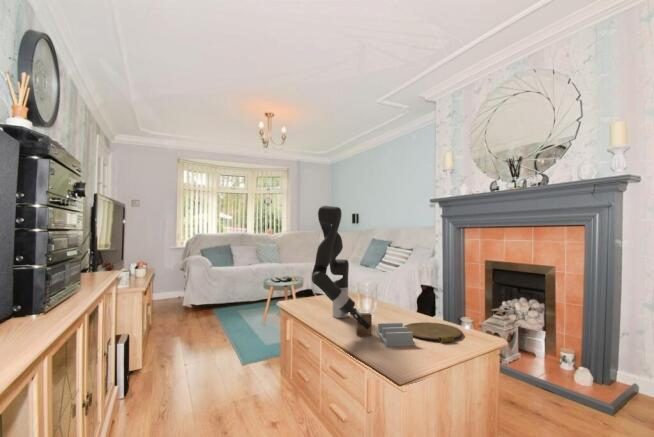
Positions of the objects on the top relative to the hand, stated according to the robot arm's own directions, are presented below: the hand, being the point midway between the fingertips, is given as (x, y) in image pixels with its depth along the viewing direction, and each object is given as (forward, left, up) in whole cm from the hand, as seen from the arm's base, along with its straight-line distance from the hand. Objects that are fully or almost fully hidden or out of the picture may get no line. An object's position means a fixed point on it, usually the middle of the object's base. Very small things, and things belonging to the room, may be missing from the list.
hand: (367, 325), depth 153 cm
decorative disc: (0, +33, -5) cm, 34 cm away
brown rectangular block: (0, -2, -4) cm, 5 cm away
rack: (+8, +11, -4) cm, 15 cm away
